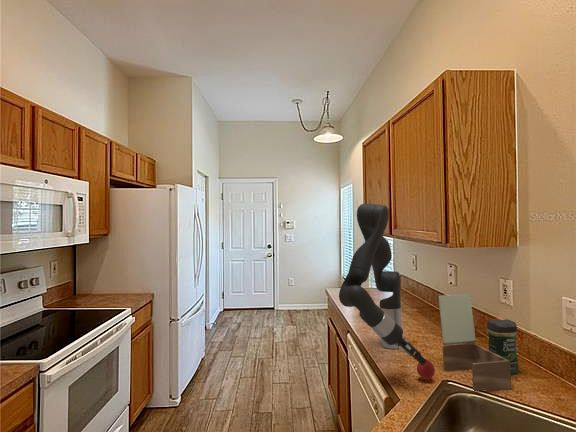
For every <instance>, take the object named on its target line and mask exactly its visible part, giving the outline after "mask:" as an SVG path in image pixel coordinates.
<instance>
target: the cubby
mask: <svg viewBox="0 0 576 432" xmlns="http://www.w3.org/2000/svg"><path fill="white" fill-rule="evenodd" d="M442 361H443V364H442V365H443V371H444V372H453V371H462V370H471V371H472V372H471V374H472V391H473V390H474V391H478V390H486V391H485V392H493V391H501V390H502V391H503V390H504V391H505V390H511V389H512V374H511V364H510V361H509V360H507V359H505V358H503V357H501V356H499V355H497V354H495V353H493V352H491V351H489V350H488V348H485V347H484V346H482V345H479V344H477V343H476V342H474V343H462V344H450V345H442ZM474 391H473V392H474Z"/></svg>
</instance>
